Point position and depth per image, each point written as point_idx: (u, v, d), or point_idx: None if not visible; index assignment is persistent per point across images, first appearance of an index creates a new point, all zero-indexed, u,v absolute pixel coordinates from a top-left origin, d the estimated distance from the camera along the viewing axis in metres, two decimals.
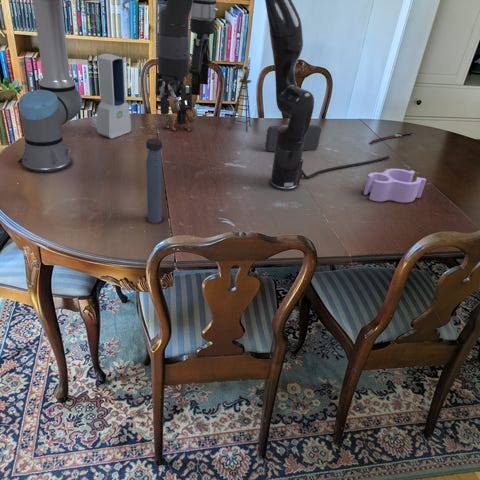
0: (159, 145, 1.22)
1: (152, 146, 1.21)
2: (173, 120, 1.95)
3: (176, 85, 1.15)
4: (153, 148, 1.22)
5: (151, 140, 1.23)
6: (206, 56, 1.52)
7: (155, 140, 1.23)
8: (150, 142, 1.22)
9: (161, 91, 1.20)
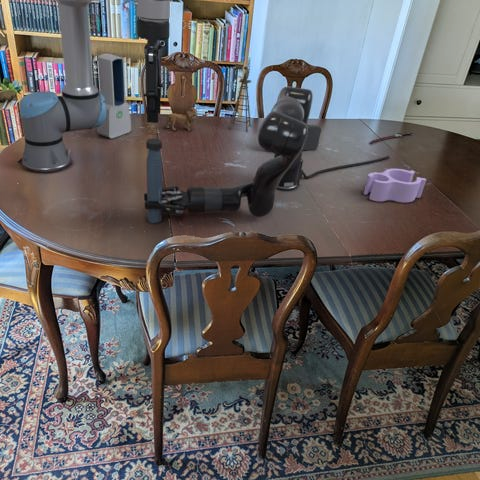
0: (159, 145, 1.22)
1: (152, 146, 1.21)
2: (173, 120, 1.95)
3: None
4: (153, 148, 1.22)
5: (151, 140, 1.23)
6: None
7: (155, 140, 1.23)
8: (150, 142, 1.22)
9: None
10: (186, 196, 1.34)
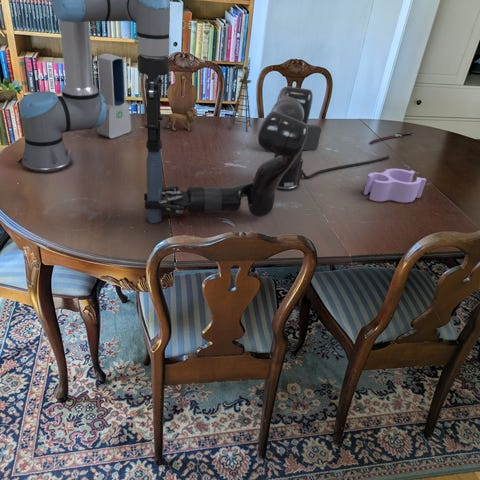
0: (159, 145, 1.22)
1: None
2: (173, 120, 1.95)
3: None
4: None
5: None
6: None
7: None
8: None
9: None
10: (186, 196, 1.34)
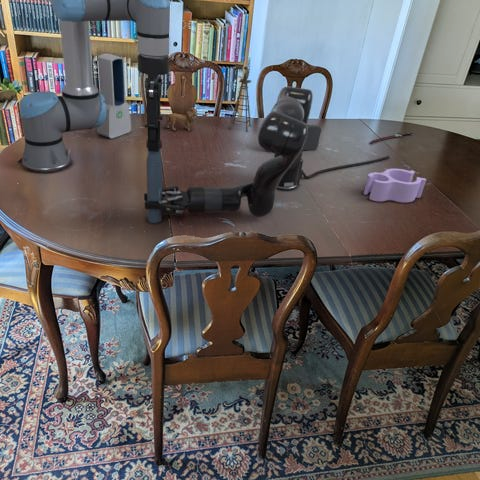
0: None
1: (161, 144, 1.23)
2: (173, 120, 1.95)
3: None
4: (161, 145, 1.23)
5: None
6: None
7: None
8: None
9: None
10: (186, 196, 1.34)
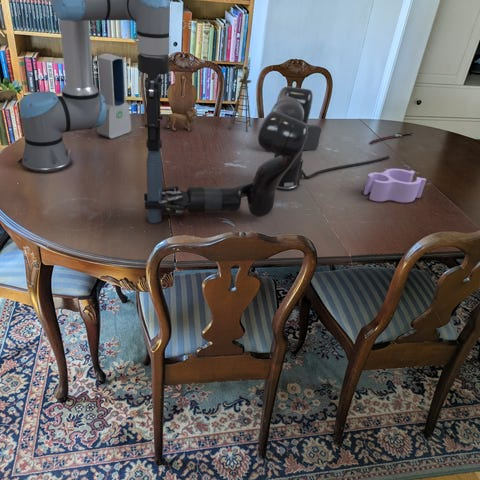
0: None
1: None
2: (173, 120, 1.95)
3: None
4: None
5: None
6: None
7: None
8: None
9: None
10: (186, 196, 1.34)
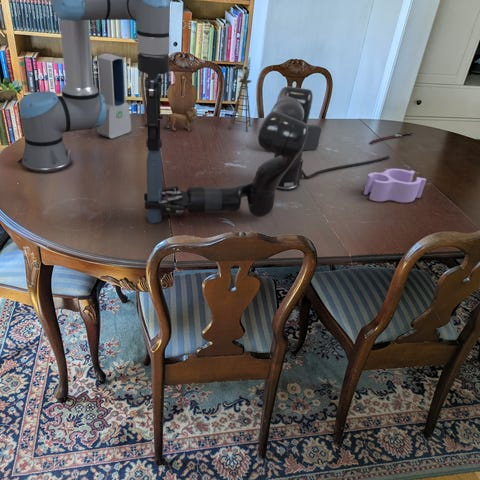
0: None
1: None
2: (173, 120, 1.95)
3: None
4: None
5: None
6: None
7: None
8: None
9: None
10: (186, 196, 1.34)
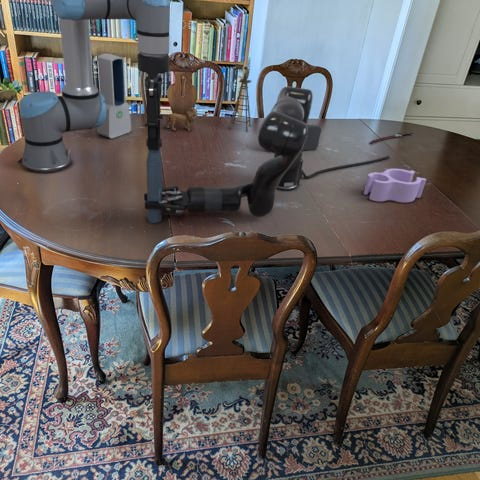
0: None
1: None
2: (173, 120, 1.95)
3: None
4: None
5: None
6: None
7: None
8: None
9: None
10: (186, 196, 1.34)
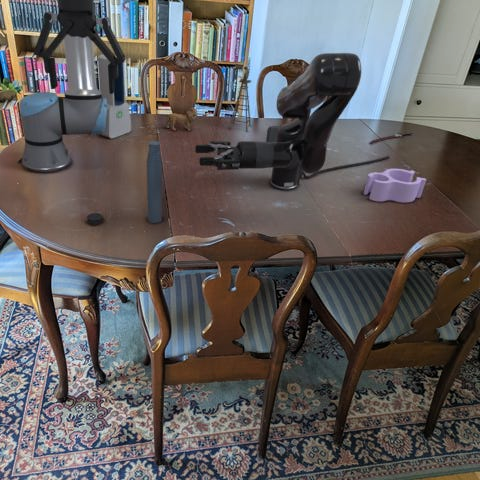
0: None
1: (100, 220, 1.31)
2: (173, 120, 1.95)
3: None
4: (101, 220, 1.31)
5: (91, 217, 1.30)
6: None
7: (92, 215, 1.31)
8: (96, 218, 1.30)
9: None
10: (236, 150, 1.29)
